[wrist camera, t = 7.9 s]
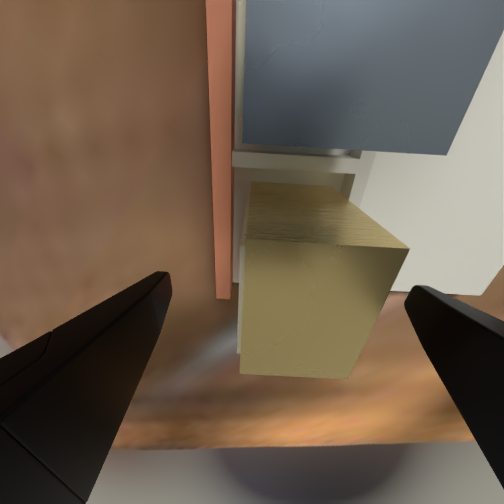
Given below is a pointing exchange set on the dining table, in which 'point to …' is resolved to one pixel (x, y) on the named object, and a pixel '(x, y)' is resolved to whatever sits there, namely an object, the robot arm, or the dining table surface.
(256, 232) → the ochre tin
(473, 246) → the shelf board
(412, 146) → the slate tin
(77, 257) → the dining table surface
